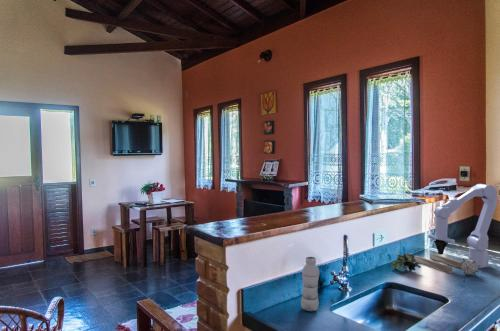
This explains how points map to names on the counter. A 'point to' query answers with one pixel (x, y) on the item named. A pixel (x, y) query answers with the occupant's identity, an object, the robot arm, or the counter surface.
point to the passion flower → (405, 262)
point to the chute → (439, 265)
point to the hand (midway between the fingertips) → (440, 254)
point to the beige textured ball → (469, 267)
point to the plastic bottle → (310, 285)
